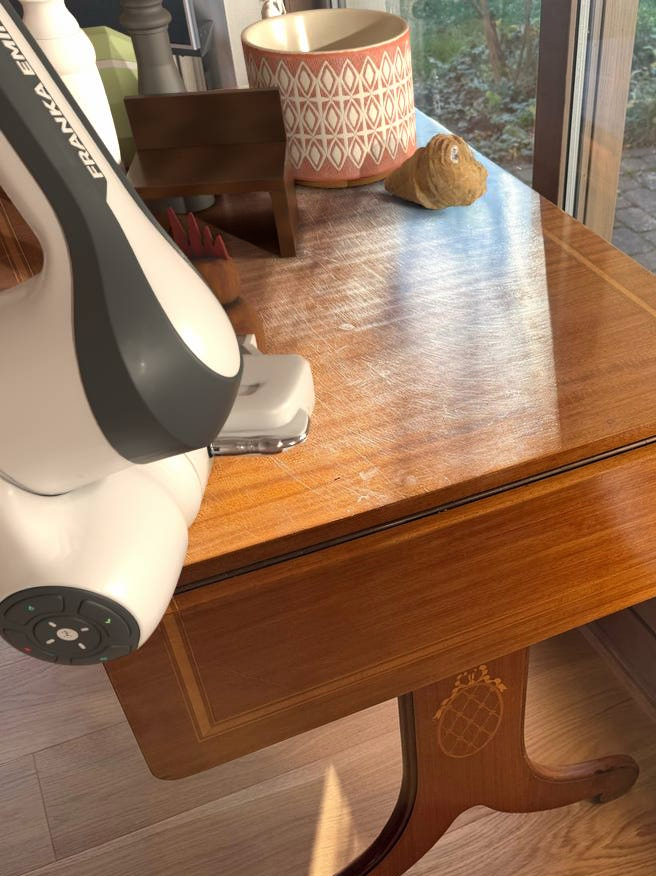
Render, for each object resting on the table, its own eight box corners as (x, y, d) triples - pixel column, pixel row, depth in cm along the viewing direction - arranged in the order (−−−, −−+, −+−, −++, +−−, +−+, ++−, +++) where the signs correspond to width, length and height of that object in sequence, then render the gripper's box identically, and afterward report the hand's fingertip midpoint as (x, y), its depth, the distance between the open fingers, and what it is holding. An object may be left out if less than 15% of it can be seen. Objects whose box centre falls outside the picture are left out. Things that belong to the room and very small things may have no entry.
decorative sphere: (194, 179, 120) (163, 39, 109) (68, 198, 117) (23, 56, 106) (178, 140, 130) (148, 9, 119) (61, 157, 127) (19, 23, 116)
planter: (321, 208, 113) (302, 63, 102) (234, 165, 123) (208, 30, 113) (449, 164, 121) (443, 27, 111) (358, 128, 132) (344, -1, 121)
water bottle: (154, 223, 111) (86, -43, 93) (118, 248, 106) (39, -26, 88) (101, 216, 112) (24, -46, 95) (63, 241, 108) (-25, -30, 90)
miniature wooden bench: (142, 267, 103) (106, 134, 93) (157, 221, 111) (124, 95, 102) (296, 256, 104) (275, 123, 94) (298, 212, 112) (279, 86, 103)
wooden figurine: (181, 391, 85) (133, 215, 74) (217, 359, 88) (177, 187, 78) (248, 405, 83) (209, 227, 72) (283, 372, 86) (250, 198, 76)
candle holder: (225, 198, 115) (173, -59, 98) (188, 217, 112) (126, -47, 94) (187, 189, 118) (129, -64, 100) (149, 207, 114) (82, -52, 96)
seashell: (400, 233, 118) (363, 222, 111) (392, 162, 116) (354, 145, 109) (503, 207, 111) (471, 193, 104) (495, 131, 110) (462, 111, 103)
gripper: (297, 404, 58) (318, 298, 68) (-46, 417, 58) (25, 309, 68) (312, 491, 63) (331, 380, 73) (-6, 502, 63) (55, 389, 73)
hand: (181, 345), depth 70 cm, fingers open, 8 cm apart
